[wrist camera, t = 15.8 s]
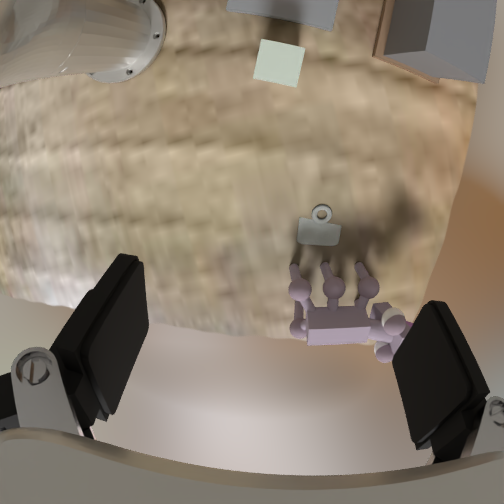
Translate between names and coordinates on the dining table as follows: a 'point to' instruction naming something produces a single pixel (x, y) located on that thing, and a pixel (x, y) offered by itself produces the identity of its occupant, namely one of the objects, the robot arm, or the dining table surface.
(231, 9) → the mat
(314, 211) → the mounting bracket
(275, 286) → the dining table surface
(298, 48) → the sage block
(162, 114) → the dining table surface
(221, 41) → the dining table surface
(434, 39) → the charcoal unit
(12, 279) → the dining table surface
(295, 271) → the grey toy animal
